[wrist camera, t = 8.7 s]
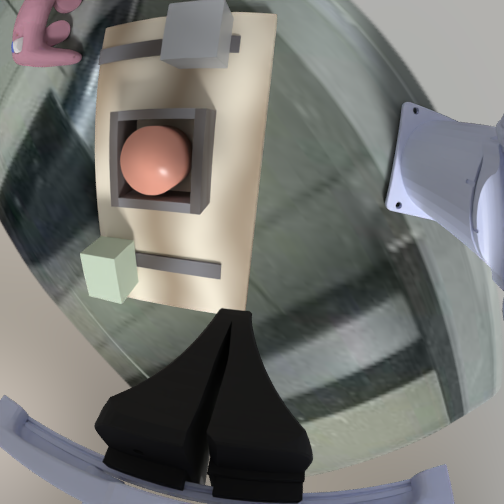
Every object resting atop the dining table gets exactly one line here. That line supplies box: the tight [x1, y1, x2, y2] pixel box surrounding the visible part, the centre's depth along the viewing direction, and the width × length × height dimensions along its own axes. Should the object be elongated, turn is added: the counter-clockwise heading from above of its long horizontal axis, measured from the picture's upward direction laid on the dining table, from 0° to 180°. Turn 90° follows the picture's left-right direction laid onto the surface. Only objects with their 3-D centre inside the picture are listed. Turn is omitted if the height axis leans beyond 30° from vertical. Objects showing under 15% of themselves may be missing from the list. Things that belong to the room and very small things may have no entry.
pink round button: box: [120, 125, 193, 195], centre depth 15 cm, size 4×4×2 cm
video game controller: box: [11, 0, 82, 67], centre depth 10 cm, size 10×5×7 cm
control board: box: [95, 12, 277, 313], centre depth 17 cm, size 12×22×4 cm, turn 175°
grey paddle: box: [160, 0, 234, 69], centre depth 11 cm, size 3×4×3 cm
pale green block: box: [80, 236, 139, 304], centre depth 19 cm, size 3×4×3 cm
